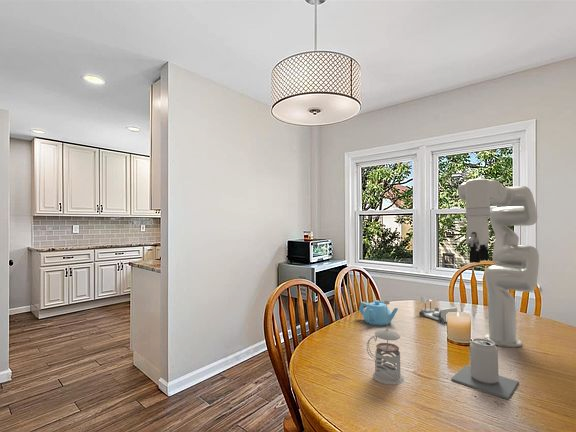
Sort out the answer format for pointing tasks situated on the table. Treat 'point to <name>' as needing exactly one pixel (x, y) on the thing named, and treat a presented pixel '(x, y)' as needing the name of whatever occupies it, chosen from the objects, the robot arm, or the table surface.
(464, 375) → the mat
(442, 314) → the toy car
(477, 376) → the can
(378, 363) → the french press
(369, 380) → the table surface
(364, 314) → the teapot
